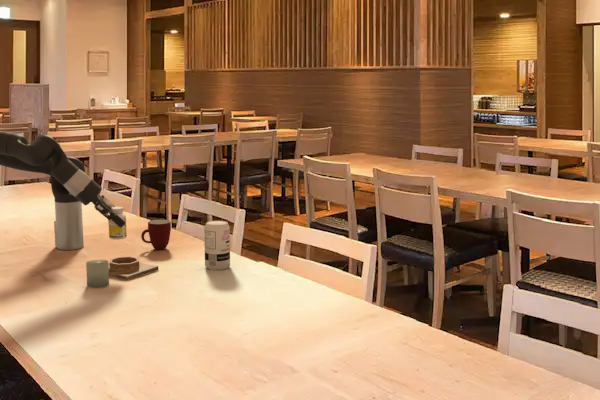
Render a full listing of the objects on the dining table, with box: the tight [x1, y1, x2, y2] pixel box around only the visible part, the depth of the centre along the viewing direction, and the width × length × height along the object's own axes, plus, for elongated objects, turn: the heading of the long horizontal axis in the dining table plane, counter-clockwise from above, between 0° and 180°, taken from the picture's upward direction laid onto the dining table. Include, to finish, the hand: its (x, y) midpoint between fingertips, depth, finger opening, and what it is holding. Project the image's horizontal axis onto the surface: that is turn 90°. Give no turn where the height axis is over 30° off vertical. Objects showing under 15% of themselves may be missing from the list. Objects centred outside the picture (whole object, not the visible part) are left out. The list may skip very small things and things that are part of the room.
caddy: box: [108, 255, 159, 281], centre depth 226 cm, size 16×14×4 cm
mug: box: [141, 219, 172, 251], centre depth 254 cm, size 11×8×10 cm
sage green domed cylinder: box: [85, 259, 110, 289], centre depth 211 cm, size 6×6×7 cm
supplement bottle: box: [107, 206, 128, 241], centre depth 223 cm, size 5×5×10 cm
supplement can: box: [203, 220, 231, 271], centre depth 231 cm, size 8×8×15 cm
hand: (123, 223), depth 223 cm, fingers closed on supplement bottle, 5 cm apart
